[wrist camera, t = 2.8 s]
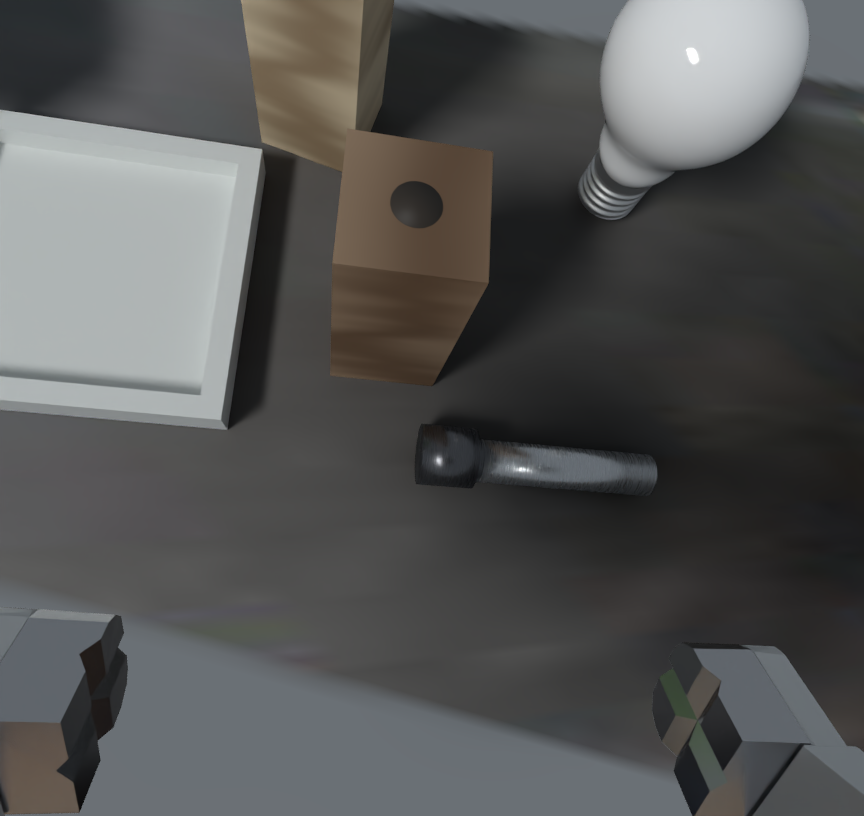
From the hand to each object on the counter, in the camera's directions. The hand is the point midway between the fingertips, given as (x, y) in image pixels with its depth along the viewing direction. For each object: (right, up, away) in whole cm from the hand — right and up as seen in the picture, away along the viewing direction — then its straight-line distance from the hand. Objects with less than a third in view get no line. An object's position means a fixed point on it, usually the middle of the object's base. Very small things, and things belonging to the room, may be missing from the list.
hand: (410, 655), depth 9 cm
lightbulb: (+8, +13, +19) cm, 24 cm away
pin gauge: (+4, +1, +15) cm, 16 cm away
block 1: (-4, +16, +18) cm, 24 cm away
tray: (-12, +9, +14) cm, 21 cm away
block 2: (-2, +7, +16) cm, 17 cm away
